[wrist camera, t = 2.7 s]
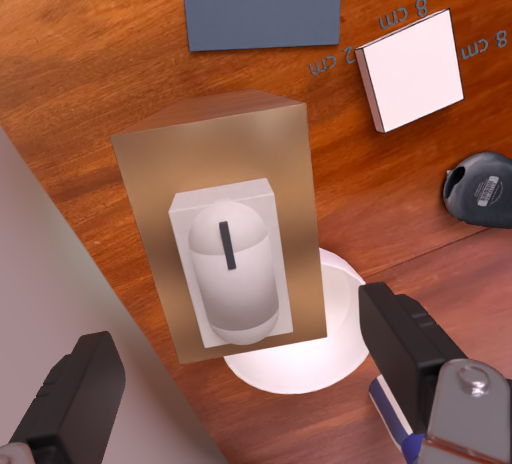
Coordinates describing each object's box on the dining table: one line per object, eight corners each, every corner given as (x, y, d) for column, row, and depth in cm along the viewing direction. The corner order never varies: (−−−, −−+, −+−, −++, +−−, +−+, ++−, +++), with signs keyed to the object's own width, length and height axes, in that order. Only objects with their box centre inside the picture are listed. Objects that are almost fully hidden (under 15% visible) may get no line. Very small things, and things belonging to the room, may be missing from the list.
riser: (180, 99, 40) (108, 136, 14) (251, 87, 40) (306, 102, 15) (203, 201, 45) (179, 365, 19) (266, 190, 45) (327, 337, 19)
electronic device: (549, 159, 48) (458, 144, 44) (589, 175, 44) (492, 160, 40) (511, 219, 53) (426, 211, 49) (543, 240, 48) (452, 232, 44)
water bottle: (378, 363, 58) (482, 550, 35) (424, 373, 60) (551, 557, 37) (357, 400, 61) (440, 596, 38) (401, 409, 62) (506, 600, 39)
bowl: (225, 357, 55) (226, 403, 47) (210, 239, 47) (208, 270, 39) (353, 342, 56) (374, 385, 48) (359, 224, 48) (385, 252, 40)
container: (334, 149, 44) (340, 153, 41) (302, 52, 39) (308, 50, 37) (495, 79, 42) (512, 79, 40) (481, -30, 38) (499, -38, 35)
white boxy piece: (174, 191, 15) (161, 223, 12) (266, 176, 16) (279, 202, 12) (206, 317, 18) (203, 371, 15) (285, 302, 18) (299, 352, 15)
